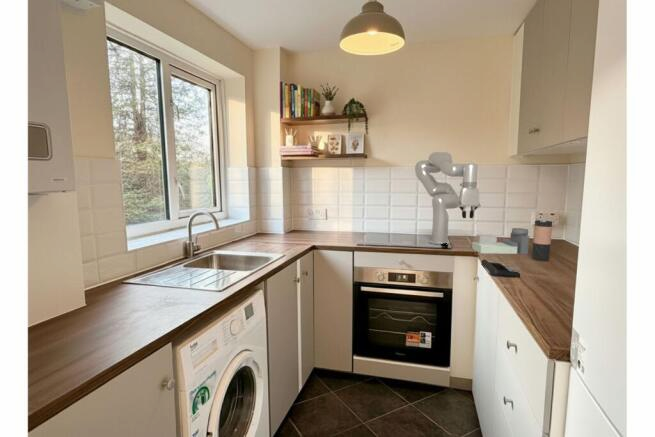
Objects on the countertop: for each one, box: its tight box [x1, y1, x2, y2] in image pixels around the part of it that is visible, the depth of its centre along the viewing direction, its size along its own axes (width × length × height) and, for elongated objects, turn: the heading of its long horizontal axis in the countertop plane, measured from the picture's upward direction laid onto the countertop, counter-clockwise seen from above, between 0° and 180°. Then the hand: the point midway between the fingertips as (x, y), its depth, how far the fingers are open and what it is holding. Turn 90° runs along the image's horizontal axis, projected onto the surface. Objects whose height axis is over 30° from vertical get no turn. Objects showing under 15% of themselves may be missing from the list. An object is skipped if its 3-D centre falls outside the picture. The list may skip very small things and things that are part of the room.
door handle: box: [479, 259, 521, 278], centre depth 150 cm, size 3×20×16 cm
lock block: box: [476, 234, 498, 246], centre depth 192 cm, size 6×9×5 cm, turn 81°
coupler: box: [471, 227, 530, 255], centre depth 191 cm, size 12×28×13 cm, turn 89°
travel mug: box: [532, 219, 553, 262], centre depth 172 cm, size 8×8×20 cm
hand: (467, 217), depth 190 cm, fingers open, 3 cm apart
